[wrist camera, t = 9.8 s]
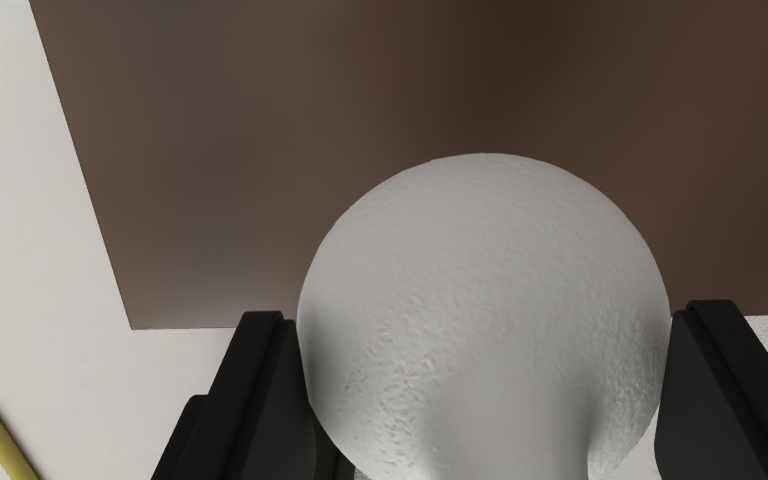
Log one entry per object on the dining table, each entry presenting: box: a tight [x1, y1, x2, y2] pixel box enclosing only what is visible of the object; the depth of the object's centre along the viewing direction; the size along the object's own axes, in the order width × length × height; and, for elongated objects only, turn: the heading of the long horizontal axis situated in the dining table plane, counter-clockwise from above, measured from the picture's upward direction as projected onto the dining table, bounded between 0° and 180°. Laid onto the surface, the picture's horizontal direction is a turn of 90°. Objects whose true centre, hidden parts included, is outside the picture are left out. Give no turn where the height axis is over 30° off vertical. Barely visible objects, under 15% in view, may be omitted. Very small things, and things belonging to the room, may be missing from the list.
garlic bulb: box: [296, 153, 671, 480], centre depth 10 cm, size 6×6×8 cm
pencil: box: [0, 422, 39, 480], centre depth 33 cm, size 1×14×1 cm, turn 14°
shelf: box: [29, 0, 768, 330], centre depth 20 cm, size 22×12×8 cm, turn 95°
